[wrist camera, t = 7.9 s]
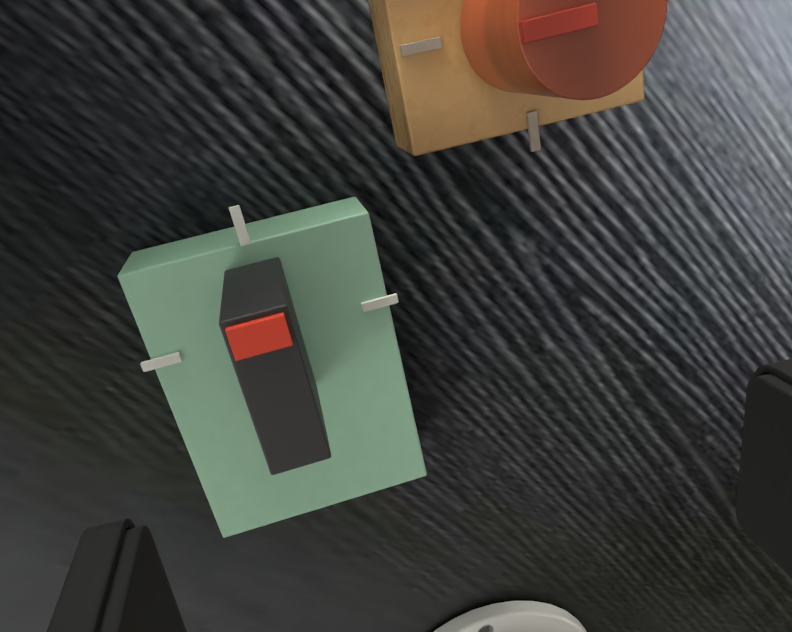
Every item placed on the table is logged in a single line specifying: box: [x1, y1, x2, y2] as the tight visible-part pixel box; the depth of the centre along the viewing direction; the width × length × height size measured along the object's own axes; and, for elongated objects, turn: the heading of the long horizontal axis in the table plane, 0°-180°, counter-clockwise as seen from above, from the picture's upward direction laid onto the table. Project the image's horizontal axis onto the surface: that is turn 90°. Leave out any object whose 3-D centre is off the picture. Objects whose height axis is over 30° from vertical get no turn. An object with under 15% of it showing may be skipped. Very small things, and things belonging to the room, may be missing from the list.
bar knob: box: [219, 257, 331, 475], centre depth 21 cm, size 6×2×5 cm, turn 12°
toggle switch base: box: [118, 197, 427, 538], centre depth 26 cm, size 13×10×3 cm
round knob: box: [460, 0, 667, 100], centre depth 19 cm, size 4×4×5 cm
